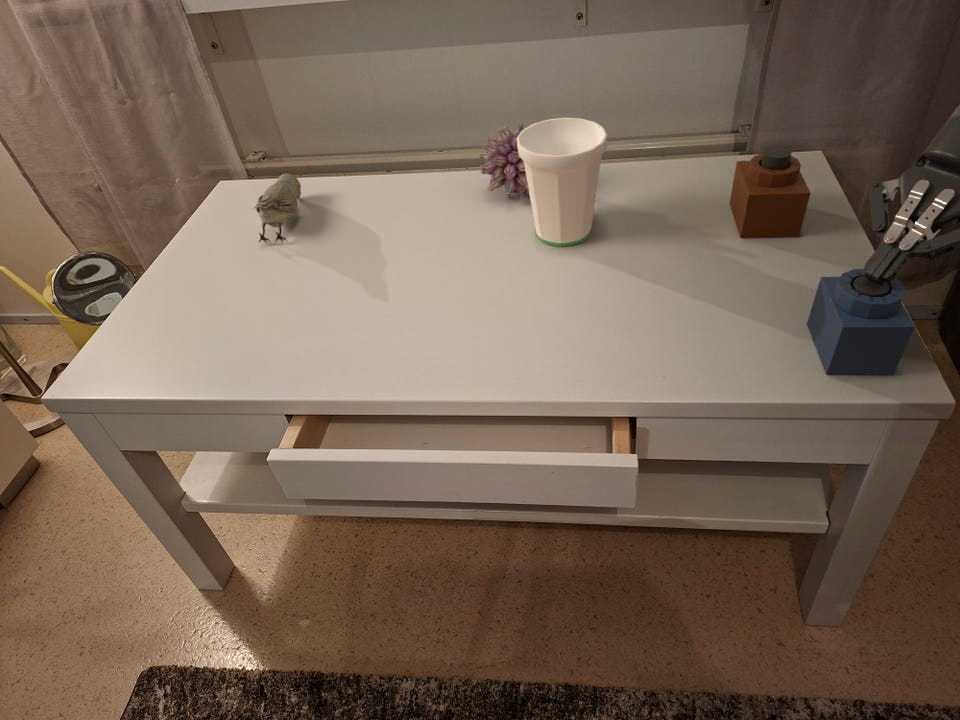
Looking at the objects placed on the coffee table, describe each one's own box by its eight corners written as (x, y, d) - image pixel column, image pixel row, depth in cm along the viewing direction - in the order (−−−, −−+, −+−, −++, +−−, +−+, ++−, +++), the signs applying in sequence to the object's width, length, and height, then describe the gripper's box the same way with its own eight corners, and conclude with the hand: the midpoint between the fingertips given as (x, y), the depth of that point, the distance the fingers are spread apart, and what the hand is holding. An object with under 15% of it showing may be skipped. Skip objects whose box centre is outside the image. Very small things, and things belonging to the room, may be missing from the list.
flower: (537, 181, 116) (565, 197, 106) (473, 195, 114) (496, 213, 104) (531, 113, 110) (560, 123, 100) (464, 127, 108) (487, 138, 98)
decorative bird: (313, 197, 117) (301, 158, 112) (288, 247, 106) (274, 206, 101) (284, 199, 118) (271, 160, 113) (256, 249, 106) (240, 208, 101)
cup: (546, 204, 107) (543, 112, 97) (617, 220, 101) (622, 124, 91) (507, 243, 100) (499, 148, 89) (582, 262, 94) (582, 163, 84)
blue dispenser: (806, 323, 80) (825, 262, 74) (868, 323, 79) (892, 261, 73) (825, 374, 73) (848, 312, 67) (893, 375, 72) (922, 311, 66)
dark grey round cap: (844, 290, 73) (849, 275, 71) (877, 290, 72) (883, 275, 71) (853, 309, 70) (859, 294, 69) (887, 309, 70) (894, 294, 68)
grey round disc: (790, 171, 90) (794, 157, 89) (763, 172, 91) (766, 158, 89) (785, 159, 93) (788, 145, 91) (758, 160, 93) (761, 146, 92)
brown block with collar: (799, 237, 93) (814, 179, 87) (740, 238, 94) (751, 181, 88) (784, 201, 100) (797, 145, 94) (729, 203, 102) (738, 148, 96)
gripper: (915, 97, 67) (807, 243, 71) (1059, 136, 59) (928, 300, 63) (927, 131, 73) (827, 264, 77) (1061, 172, 64) (939, 320, 68)
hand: (872, 280), depth 70 cm, fingers closed
